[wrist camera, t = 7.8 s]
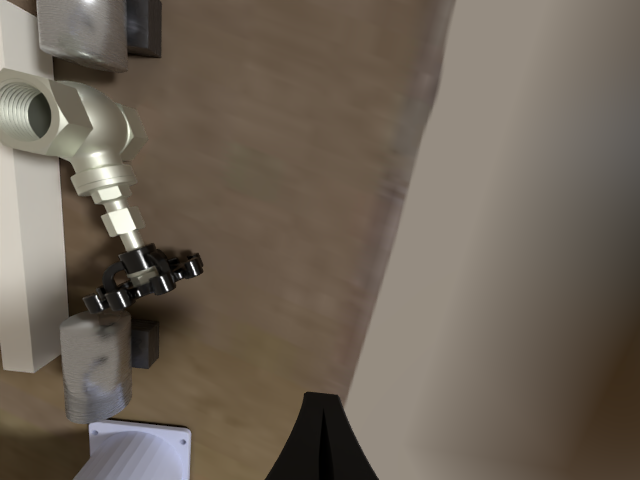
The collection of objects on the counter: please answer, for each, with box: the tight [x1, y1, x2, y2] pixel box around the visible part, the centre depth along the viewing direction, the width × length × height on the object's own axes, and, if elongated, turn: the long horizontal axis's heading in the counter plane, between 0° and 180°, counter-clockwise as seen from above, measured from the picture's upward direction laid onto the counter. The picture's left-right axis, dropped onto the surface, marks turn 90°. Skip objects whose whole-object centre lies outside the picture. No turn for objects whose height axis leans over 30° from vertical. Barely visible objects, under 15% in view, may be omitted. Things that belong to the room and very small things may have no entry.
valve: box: [0, 68, 203, 314], centre depth 17 cm, size 7×7×12 cm
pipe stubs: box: [36, 0, 162, 424], centre depth 18 cm, size 27×4×5 cm, turn 173°
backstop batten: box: [0, 0, 69, 373], centre depth 19 cm, size 22×2×3 cm, turn 173°
